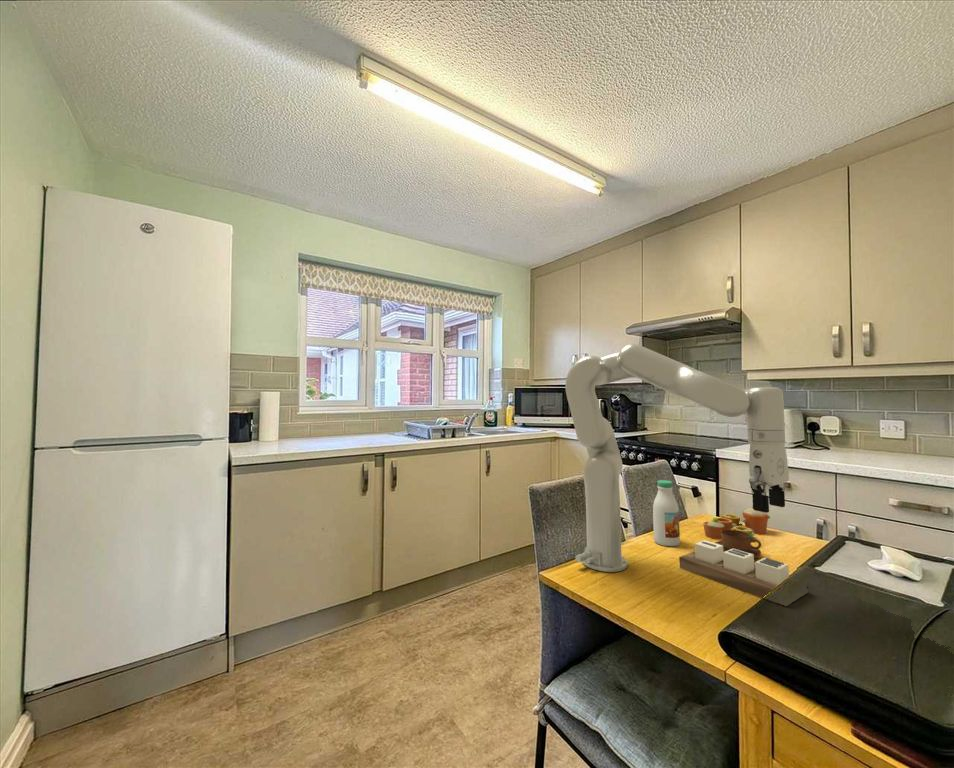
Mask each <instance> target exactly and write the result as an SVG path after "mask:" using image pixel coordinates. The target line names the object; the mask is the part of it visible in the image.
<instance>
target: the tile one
mask: <svg viewBox="0 0 954 768" xmlns="http://www.w3.org/2000/svg"><path fill="white" fill-rule="evenodd" d="M694 551H695V558H697V559H700V560H703V561H706V562H709V563H712V564H716V563H719V562H721V561H723V545H719V544H716V543H715V542H712V541H708V540H701V541H699V542H696V543H694Z"/></svg>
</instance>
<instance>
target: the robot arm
mask: <svg viewBox="0 0 954 768" xmlns="http://www.w3.org/2000/svg"><path fill="white" fill-rule="evenodd" d="M632 377H635V378H637V379H638V380H641V381H643V382H645V383H648V384H651V386H655V387H656V388H658V389H661V390H663V391H665V392H668V393H670V394H672V395H675V396H679V397H683V398H685V399H687V400H690V401H691V402H694V403H697V404H698V405H701V406H703V407H705V408H707V409H709V410H712V411H713V412H716V413H717V414H719V415H721V416H724V417H728V418H736V417H739V416H740V417H741V416H742V415H746V423H747V424H746V425H747V427H746V428H747V442H748V443H749V452H748V453H749V455H748V456H749V457H748V459H749V460H748V463H749V464H748V469H749V470H748V471H749V478H748V482H749V485H750V489H751V495H752V505H753V510H755V511H760V512H765V513H766V514H768V513H770V506H774V507H779V508H785V507H786V497H785V496H786V495H785V494H786V493H785V490H786V487H785V483H787V482H788V481H789V479H790V476H789V475H790V474H789V466H788V464H789V463H788V455H787V450H786V427H785V426H786V424H785V407H784V406H785V403H784V392H783V390H782V389H781V388H780V387H775V386H759V387H758V386H757V387H750V388H740V387H738V386H737V385H734V384H732V383H729V382H727V381H724V380H722V379H719V378H717V377H715V376H712V375H710V374H708V373H705V372H704V371H700V370H699V369H696V368H694V367H692V366H690V365H687V364H685V363H682V362H680V361H678V360H675V359H672V358H670V357H668V356H666V355H663V354H662V353H659V352H657V351H655V350H652V349H650V348H647V347H644V346H643V345H639V344H637V343H630V344H626V345H624V346H623V347H621V349H620V350H619V351H618V352H615V353H613V354H608V355H606V356H603V357H602V356H601V357H599V356H597V355H586V356H583V357H581V358H580V359H578V360H577V361H576V362H575V363H574V364H573V365H572V366H571V368H570V369H569V370H568V372H567V375H566V379H565V393H566V394H565V395H566V400H567V402H568V406H569V410H570V415H571V419H572V422H573V426H574V430H575V434H576V437H577V438H576V439H577V441H578V442H579V443H580V444H581V446H583V447H585V448H586V451H587V456H588V458H587V460H586V461H585V463H584V466H583V483H584V493H585V494H584V495H585V516H586V517H585V519H586V523H585V525H586V547H584V551H583V552H582V553H580V554H579V553H578V554H575V557H574V558H575V561H576V562H577V563H582V564H583V565H584V566H585V567H587V568H589V569H592V570H594V571H597V572H598V571H599V572H606V573H616V572H622V571H624V570H626V569H627V568H628V560H627V559H626V558H625V556H623V555H622V554H623V553H622V552H623V551H622V526H621V525H622V523H621V521H622V518H621V515H622V514H621V495H620V493H621V492H620V475H621V473H622V471H623V460H622V457H621V456H622V455H621V453H620V449H619V446H618V442H617V439H616V435H615V432H614V429H613V426H612V424H611V422H609V420H608V419H607V418H605V417H604V416H603V413H602V410H601V408H600V402H599V400H598V396H597V393H596V386H602V385H607V384H611V383H614V382H618V381H621V380H626V379H629V378H632ZM769 487H770V488H769ZM767 493H768V495H767Z"/></svg>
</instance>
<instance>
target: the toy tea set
mask: <svg viewBox="0 0 954 768" xmlns="http://www.w3.org/2000/svg"><path fill="white" fill-rule="evenodd" d="M742 516H743V517H740V516H739V515H736V514H734V513H732V514H730V513H725V514H722V516H720V517H713V518H712V520H710V521H705V522H702V524H703V529H704V530H703V531H704V536H705V537H706V538H709V539H713V540H720V538H721V539H722V531H724V530H736V531H741V532H745V533H748V534H749V535H750V536H751V539H756V537H755V535H765V534H767V528H768V522H769V521H768V520H769V519H770V518H771V516H770V515H769V514H768V513H765V512H760V511H755V510H753V504H752V506H751V507H748V508H746V509H744V510H743V511H742ZM741 522H743V523H744V526H743V524H742V523H741ZM739 523H740V524H739ZM752 542H753V541H751V543H752Z"/></svg>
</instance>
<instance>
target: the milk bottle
mask: <svg viewBox="0 0 954 768" xmlns="http://www.w3.org/2000/svg"><path fill="white" fill-rule="evenodd" d="M673 486H674V485H673V482H672V481H671V480H666V479H665V480H664V479H663V480H662V479H660V480H657V489H658V491H657V494H656V496H655V498H654V501H653V506H652V521H653V540H654V542H655V543H656V544H658V545H661V546H664V547H677V546H679V545H680V543H681V532H680V530H681V529H680V512H679V511H680V509H679V505H678V502H677V500H676V498H675V495H674V494H673V493H674V492H673Z"/></svg>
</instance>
